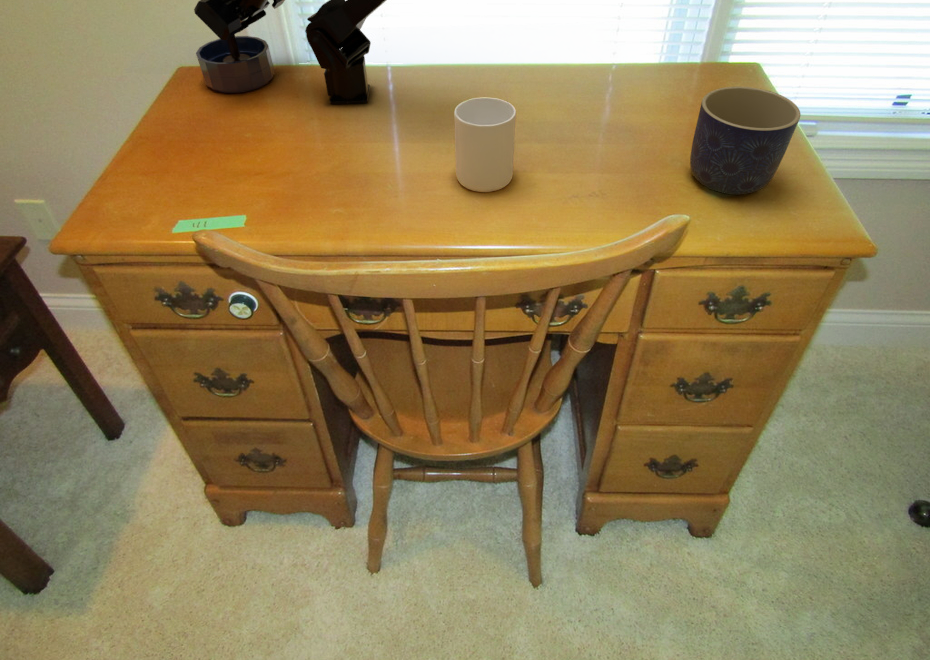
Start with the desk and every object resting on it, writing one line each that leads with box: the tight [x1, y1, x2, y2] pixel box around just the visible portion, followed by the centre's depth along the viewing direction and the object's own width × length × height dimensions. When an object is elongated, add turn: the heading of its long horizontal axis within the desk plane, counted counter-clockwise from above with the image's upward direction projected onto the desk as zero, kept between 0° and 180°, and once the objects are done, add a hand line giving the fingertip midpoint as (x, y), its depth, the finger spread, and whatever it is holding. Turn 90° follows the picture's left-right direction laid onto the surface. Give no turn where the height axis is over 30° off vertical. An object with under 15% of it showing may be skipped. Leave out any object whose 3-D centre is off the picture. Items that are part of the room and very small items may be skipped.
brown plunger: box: [223, 34, 250, 63], centre depth 111 cm, size 5×5×14 cm
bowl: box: [195, 35, 276, 94], centre depth 115 cm, size 12×12×6 cm
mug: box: [453, 96, 517, 193], centre depth 90 cm, size 12×8×10 cm
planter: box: [689, 85, 801, 195], centre depth 87 cm, size 12×12×11 cm
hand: (223, 35), depth 112 cm, fingers closed on brown plunger
